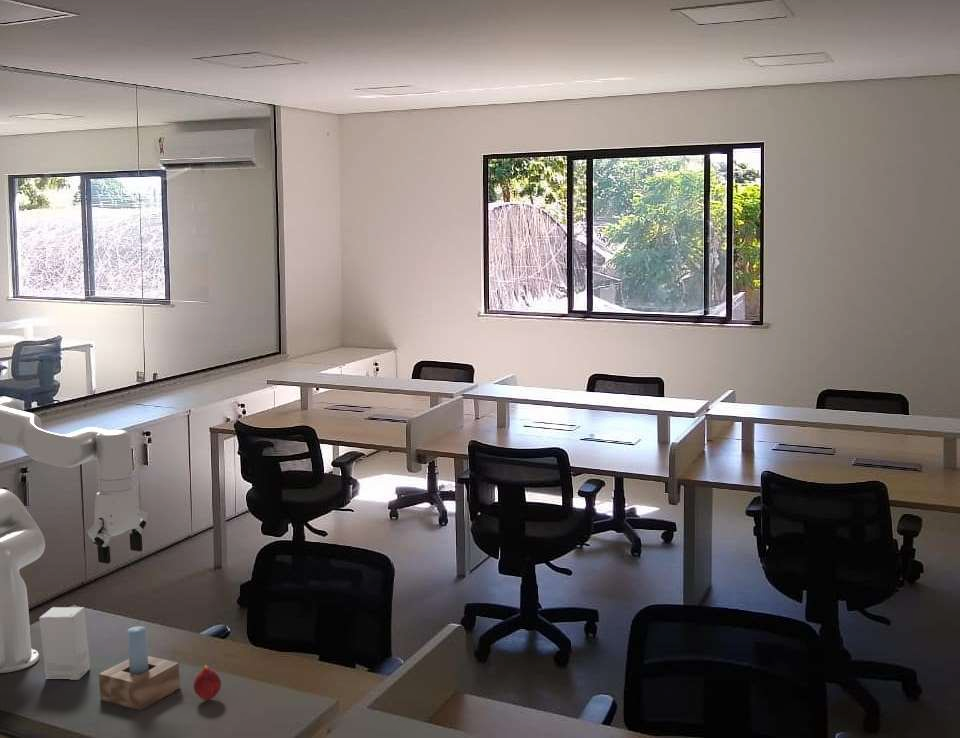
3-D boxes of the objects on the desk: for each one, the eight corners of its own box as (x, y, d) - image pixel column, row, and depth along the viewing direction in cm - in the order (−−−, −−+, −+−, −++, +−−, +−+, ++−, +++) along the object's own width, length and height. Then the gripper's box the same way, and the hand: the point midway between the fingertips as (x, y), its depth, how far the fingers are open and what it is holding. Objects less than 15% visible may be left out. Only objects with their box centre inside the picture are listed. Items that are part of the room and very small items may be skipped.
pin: (127, 691, 232) (123, 631, 230) (140, 684, 236) (136, 625, 234) (140, 694, 230) (136, 634, 228) (153, 687, 234) (149, 628, 232)
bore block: (100, 699, 230) (98, 673, 230) (140, 678, 241) (139, 653, 240) (140, 710, 225) (139, 683, 224) (180, 688, 236) (178, 662, 235)
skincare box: (91, 669, 246) (86, 606, 244) (77, 681, 240) (73, 617, 238) (57, 668, 247) (52, 605, 245) (43, 680, 241) (38, 616, 238)
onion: (227, 697, 231) (225, 663, 230) (210, 708, 226) (208, 673, 225) (206, 692, 233) (204, 658, 232) (189, 703, 228) (187, 668, 227)
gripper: (132, 474, 247) (136, 544, 250) (74, 491, 232) (79, 565, 234) (156, 477, 244) (160, 548, 246) (99, 494, 229) (103, 569, 231)
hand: (120, 556), depth 240 cm, fingers open, 9 cm apart
